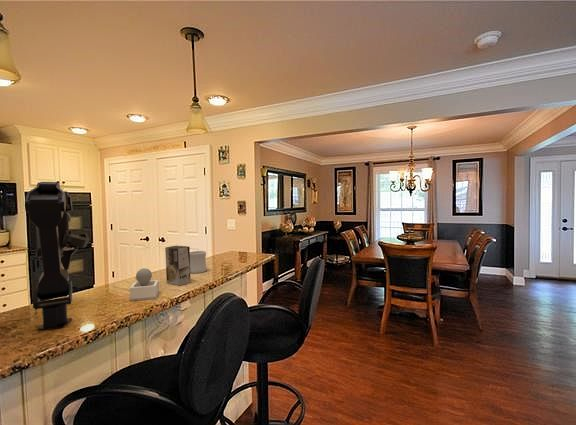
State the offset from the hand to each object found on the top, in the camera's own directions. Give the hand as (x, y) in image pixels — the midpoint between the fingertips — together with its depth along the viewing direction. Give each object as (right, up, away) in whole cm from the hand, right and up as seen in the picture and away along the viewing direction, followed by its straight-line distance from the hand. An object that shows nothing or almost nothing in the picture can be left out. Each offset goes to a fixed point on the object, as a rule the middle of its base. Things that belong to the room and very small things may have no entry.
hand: (60, 272), depth 104 cm
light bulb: (+24, -11, +10) cm, 28 cm away
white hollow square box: (+24, -11, +11) cm, 29 cm away
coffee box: (+30, -11, +29) cm, 43 cm away
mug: (+31, -10, +49) cm, 59 cm away
